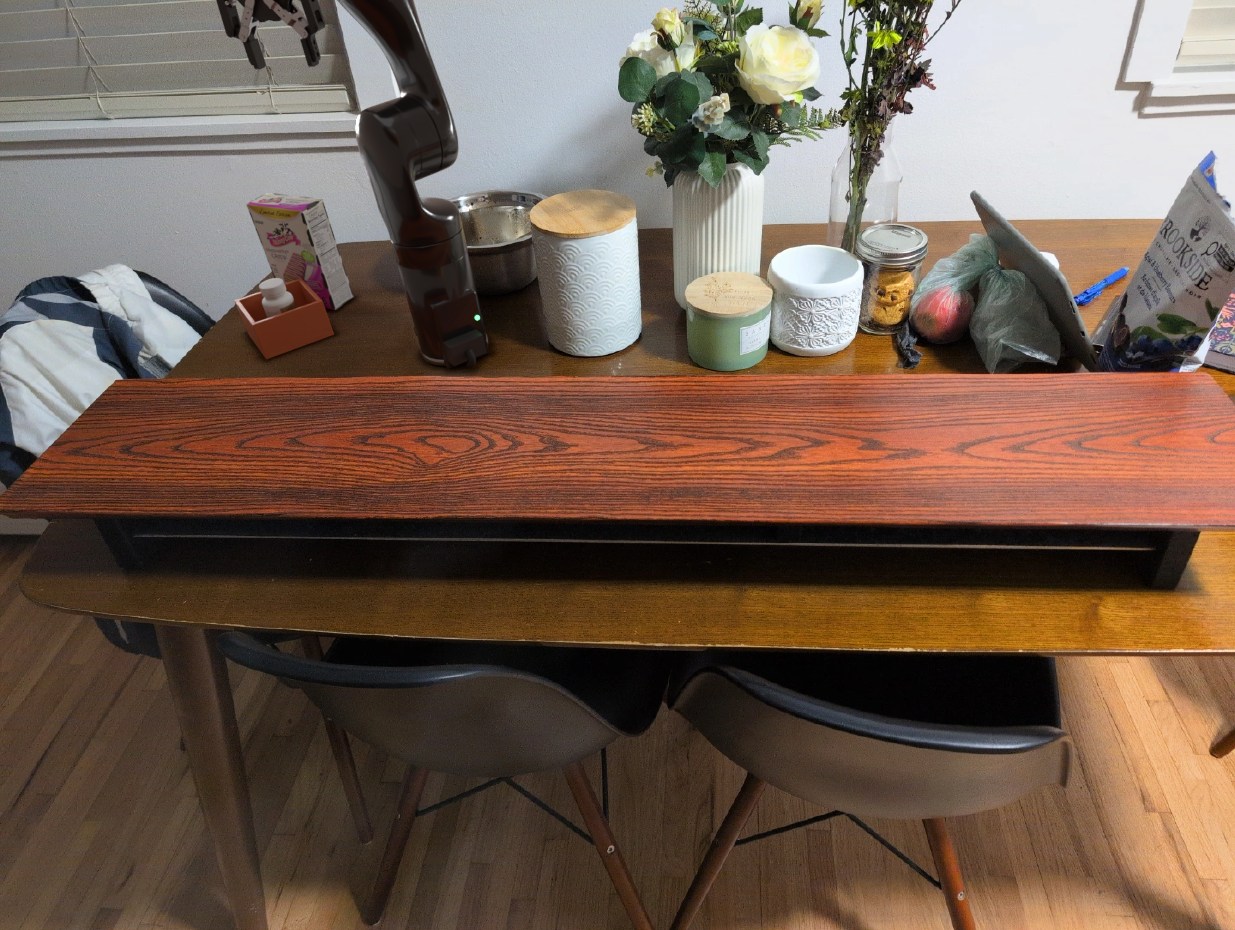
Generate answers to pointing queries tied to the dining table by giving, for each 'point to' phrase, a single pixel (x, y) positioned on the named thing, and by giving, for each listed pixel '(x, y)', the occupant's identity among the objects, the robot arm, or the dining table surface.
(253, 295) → the bin
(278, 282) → the pill bottle
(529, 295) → the dining table surface
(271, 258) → the candy bar box
